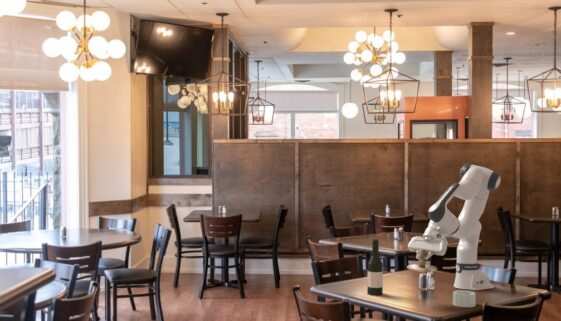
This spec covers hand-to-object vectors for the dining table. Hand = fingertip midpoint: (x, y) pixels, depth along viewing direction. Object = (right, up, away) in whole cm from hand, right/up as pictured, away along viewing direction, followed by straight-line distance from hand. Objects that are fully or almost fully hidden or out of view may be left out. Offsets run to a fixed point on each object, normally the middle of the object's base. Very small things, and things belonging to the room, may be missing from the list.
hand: (421, 258), depth 347 cm
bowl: (+21, -23, -3) cm, 31 cm away
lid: (0, -5, +1) cm, 5 cm away
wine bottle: (-21, -22, +21) cm, 37 cm away
